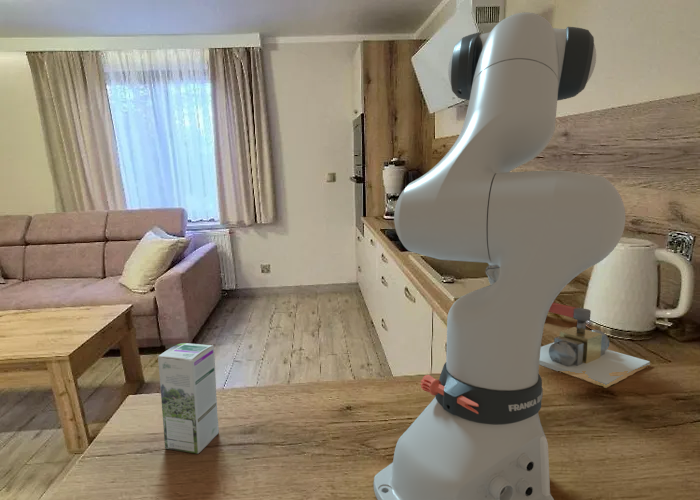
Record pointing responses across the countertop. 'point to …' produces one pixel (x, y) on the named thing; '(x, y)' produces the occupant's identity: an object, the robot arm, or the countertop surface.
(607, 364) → the mounting board
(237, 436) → the countertop surface
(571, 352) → the valve
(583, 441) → the countertop surface
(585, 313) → the lever
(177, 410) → the syrup box
